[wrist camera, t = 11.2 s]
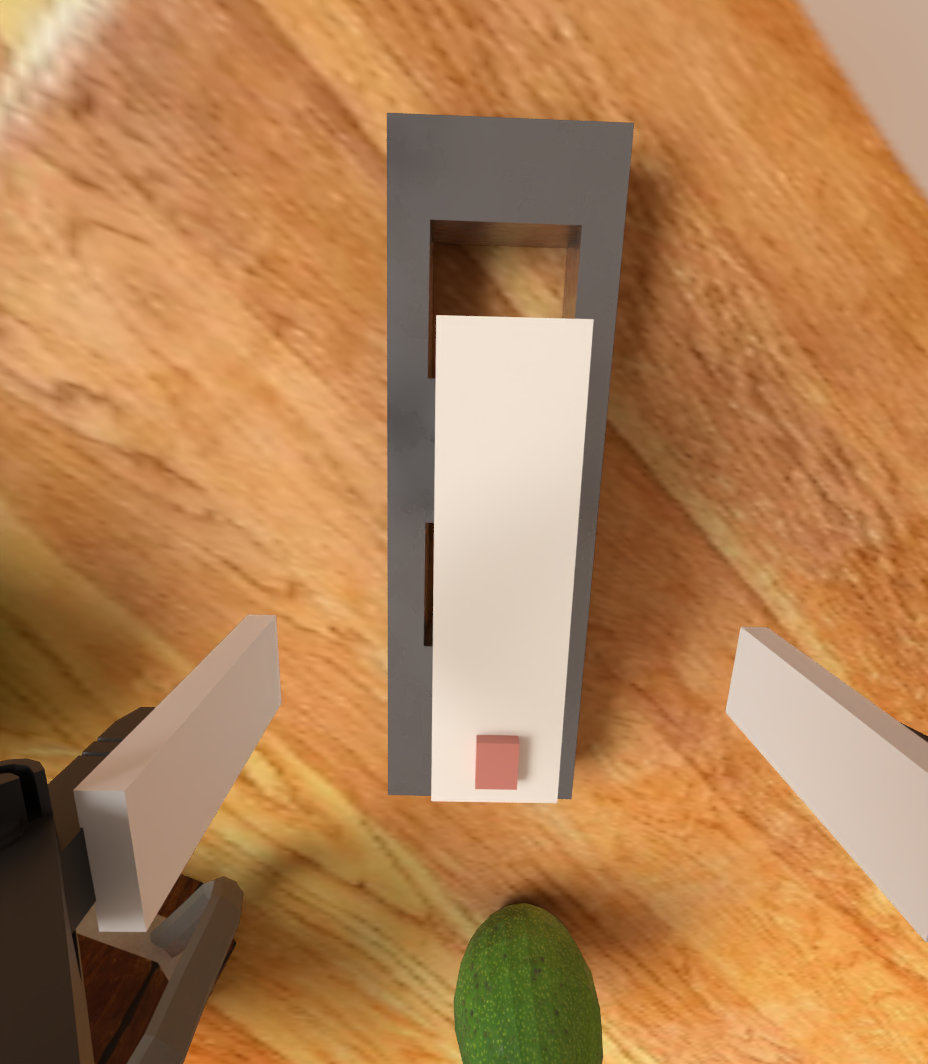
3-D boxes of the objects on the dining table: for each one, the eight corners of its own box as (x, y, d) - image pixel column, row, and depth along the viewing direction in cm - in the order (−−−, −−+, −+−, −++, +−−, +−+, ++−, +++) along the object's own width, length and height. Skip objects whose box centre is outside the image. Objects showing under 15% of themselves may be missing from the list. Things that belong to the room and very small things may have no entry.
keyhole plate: (396, 150, 23) (386, 112, 20) (612, 159, 23) (634, 122, 21) (395, 758, 30) (388, 794, 28) (560, 762, 31) (571, 799, 28)
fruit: (475, 979, 34) (482, 1269, 23) (440, 888, 33) (429, 1151, 21) (590, 951, 34) (658, 1233, 22) (560, 857, 32) (617, 1109, 21)
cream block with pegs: (445, 351, 25) (435, 311, 16) (545, 354, 25) (597, 316, 16) (440, 679, 29) (430, 810, 20) (526, 681, 29) (559, 812, 20)
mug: (142, 1046, 36) (-80, 1486, 21) (-15, 930, 33) (-388, 1334, 19) (345, 896, 33) (252, 1282, 18) (189, 758, 30) (-61, 1074, 16)
